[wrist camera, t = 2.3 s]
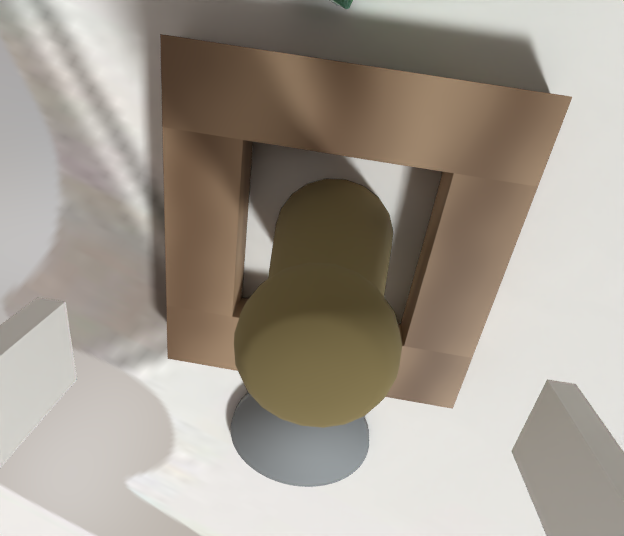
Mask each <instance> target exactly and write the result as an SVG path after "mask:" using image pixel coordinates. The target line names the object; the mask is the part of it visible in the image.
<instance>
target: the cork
mask: <svg viewBox="0 0 624 536" xmlns="http://www.w3.org/2000/svg"><path fill="white" fill-rule="evenodd" d="M392 239H393V228H392V224H391V220H390V215H389V213H388V211H387V210H386V208H385V207H384V205H383V204H382V202H381V200H380V199H379V198H378V197H377V196H376V195H374V194H373V193H372V192H371V191H369V190H368V189H367V188H366V187H364V186H362V185H359V184H356V183H354V182H351V181H348V180H343V179H323V180H320V181H316V182H313V183H309V184H307V185H305V186H304V187H302V188H301V189H299V190H298V191H296V192H295V193H293V194H292V195H291V196H290V198H289V199H288V200H287V202H286V203H285V204H284V205H283V207H282V208H281V210H280V213H279V217H278V220H277V223H276V227H275V234H274V241H273V248H272V255H271V262H270V269H269V276H268V279H267V280H266V281H264V282H263V283H262V284H261V285H260V286H259V287H258V288H257V289H256V291H255V292H254V293H253V294H252V295H251V297H250V298H249V299H248V300H247V302H246V303H245V305H244V307H243V309H242V311H241V313H240V317H239V320H238V323H237V326H236V329H235V332H234V353H235V365H236V367H237V369H238V372H239V374H240V376H241V378H242V380H243V382H244V385H245V387H246V389H247V391H248V392H249V394H250V395H251V396H252V397H253V398H254V399H255V400H256V401H257V402H258V403H259V404H260V406H261V407H262V408H264V409H266V410H267V411H269V412H270V413H272V414H274V415H275V416H277V417H278V418H280V419H283V420H286V421H289V422H292V423H295V424H298V425H301V426H310V427H321V428H324V427H331V426H338V425H345V424H347V423H349V422H352V421H354V420H356V419H359V418H361V417H363V416H365V415H366V414H367V413H368V412H369V411H371V410H372V409H373V408H374V407H375V406H377V405H378V404H379V403H380V402H381V401H382V400H383V399H384V398H385V397H386V395H387V394H388V392H389V390H390V388H391V387H392V385H393V383H394V381H395V380H396V378H397V374H398V370H399V366H400V358H401V351H402V341H401V336H400V331H399V327H398V323H397V320H396V316H395V312H394V311H393V309H392V308H391V306H390V305H389V304H388V302H387V301H386V299H385V298H384V292H385V286H386V280H387V273H388V267H389V261H390V254H391V248H392Z"/></svg>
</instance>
